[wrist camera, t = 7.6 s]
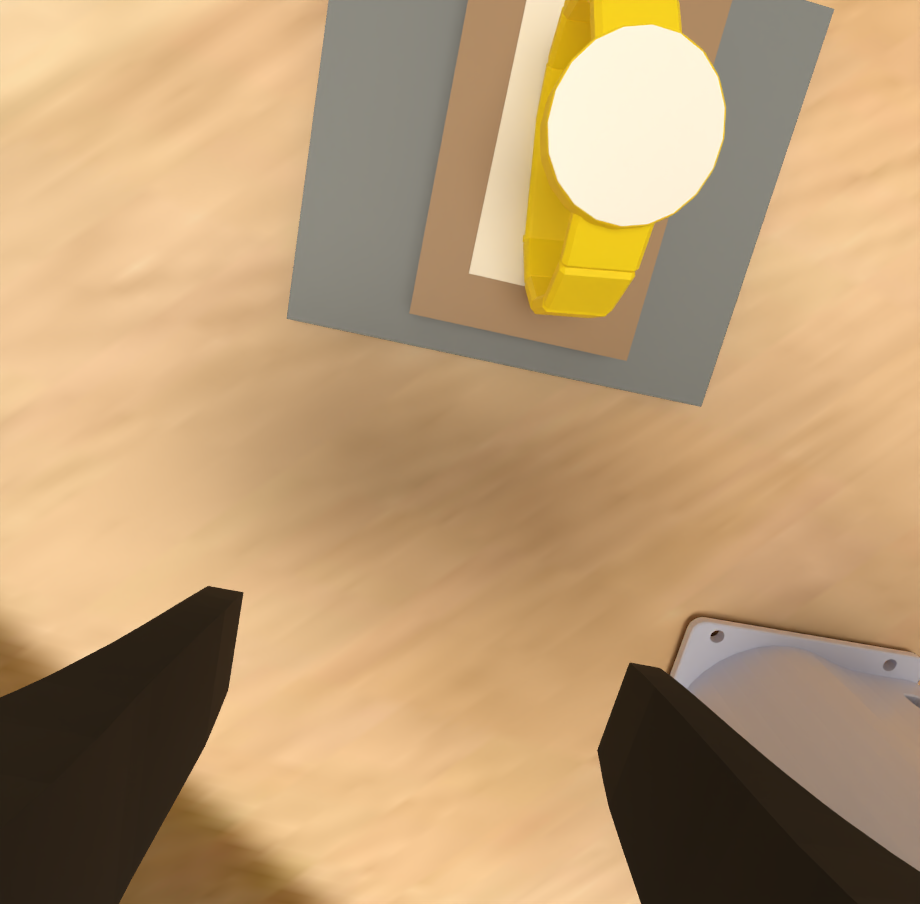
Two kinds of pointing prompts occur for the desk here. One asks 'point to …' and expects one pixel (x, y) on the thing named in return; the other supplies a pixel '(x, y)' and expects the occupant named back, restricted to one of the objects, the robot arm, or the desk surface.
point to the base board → (524, 188)
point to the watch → (614, 148)
